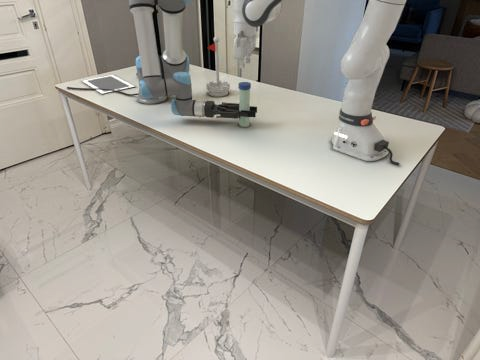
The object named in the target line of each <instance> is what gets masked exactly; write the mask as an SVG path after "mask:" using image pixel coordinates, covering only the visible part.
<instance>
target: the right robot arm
mask: <svg viewBox="0 0 480 360" xmlns="http://www.w3.org/2000/svg"><path fill="white" fill-rule="evenodd" d="M283 1H284V0H233V13H234V16H233V17H234V18H233V35H234V36H236V37H235V38H234V39H233V50H232V51H233V52H232V53H233V54H232V55H233V56H232V57H233V59H234V60H237V62H238V68H239V69H240V70H243V69H245V64H250V63H251V57H252V52H253V51H254V50H255V49H256V45H257V34H258V31H259V27H261V26H263V25H265V24H267V23H269V22H272V21H274V20H276V19H277V18H279V16H280V14H281V12H282V2H283ZM406 2H407V0H368V3H367V6H366V9H365V12H364V14H363V17H362V20H361V22H360V24H359V27H358V29H357V31H356V33H355V35H354V37H353V39H352V40H351V42H350V44H349V47H348V49H347V51H346V52H345V54H344V55H343V56H342V58H341V61H340V71H341V73H342V75H343V76H344V77H345V78H347V79H349V80H348V81H347V84H346V86H345V87H344V91H343V98H342V103H341V108H340V109H339V113H338V122H337V123H338V124H337V127H336V130H335V131H334V132H333V133H334V135H333V137H332V139H331V144H332V149H333V150H334V151H336V152H340V153H343V154H344V155H345V154H346V155H348V156H351V157H354V158H356V159H359V160H361V161H365V162H374V161H379V160H381V159H383V158H385V157H387V155H388V154H389V162H390V164H393V165H397V166H399V165H400V162H397V161H394V160H393V155H394V154H393V152H392V150H391V149H390V148H389V145H390V141H388V140H385V138H384V135H383V134H382V133H381V131H379V128H377V126H376V125H375V124H374V121H375V120H376V119H377V116H373V113H372V109H373V104H374V100H375V95H376V93H377V89H378V87H379V84H380V81H381V78H382V76H383V73H384V70H385V68H386V65H387V63H388V61H389V59H390V48H389V46H388V44H387V43H388V41H389V40H390V38H391V36H392V34H393V33H394V32H395V30H396V28H397V25H398V22H399V20H400V18H401V15H402V12H403V10H404V8H405V6H406Z"/></svg>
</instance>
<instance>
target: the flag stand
mask: <svg viewBox="0 0 480 360" xmlns="http://www.w3.org/2000/svg"><path fill="white" fill-rule="evenodd" d="M219 42H220V38H219V37H218V36H214V37H213V43H212V44H211V45H209V46H208V47H207V49H208V50H211V51H213V52H214V53H215V74H216V75H215V76H216V82H214V81H213V80H211V81H208V82H207V83H206V84H205V85H206V87H205V88H206V90H207V91H208V95H209V96H211V97H216V98H217V97H225V96H227V95H228V94H229V90H230V88H231V83H230V82H228V81H227V80H224V81H223V82H222V80H220V64H219V63H220V61H219Z"/></svg>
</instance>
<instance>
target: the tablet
mask: <svg viewBox="0 0 480 360" xmlns="http://www.w3.org/2000/svg"><path fill="white" fill-rule="evenodd" d="M81 82H82V83H84V84H85V85H87V86H88V87H89V88H98V89H111V90H116V91H125V90H127V89H132V88H135V87H136V86H135V85H133V84H132V83H130V82H128V81H126V80H124V79H122V78H121V77H119V76H116V75H114V74H110V75H105V76H99V77H95V78H89V79H84V80H81ZM95 92H98V93H99V94H100V95H105V94H110V93H115V92H114V91H110V90H95Z"/></svg>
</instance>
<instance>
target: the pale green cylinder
mask: <svg viewBox="0 0 480 360" xmlns="http://www.w3.org/2000/svg"><path fill="white" fill-rule="evenodd" d="M238 91H239V92H238V93H239V94H238V95H239V96H238V97H239V98H238V104H239V111H240V112H241V110H247V111H250V106H251V105H250V104H251V89H248V90H241V89H239V88H238ZM250 118H251V117H241V118H240V119H239V118H238V120H239V121H238V122H239V123H238V124H239V125H238V126H239V127H242V128H247V127H249V126H250V121H251V119H250Z"/></svg>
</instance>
